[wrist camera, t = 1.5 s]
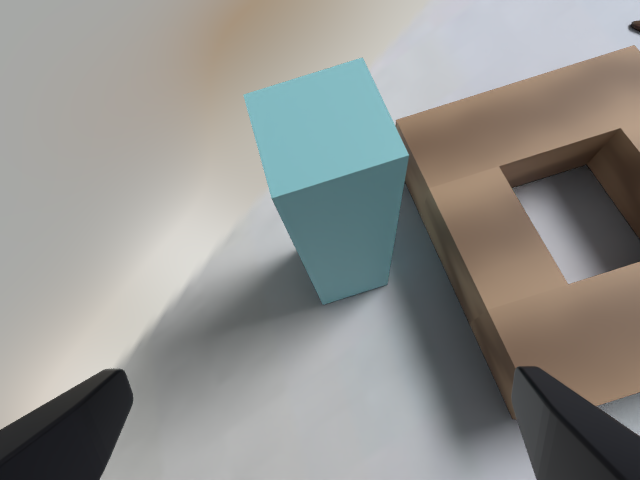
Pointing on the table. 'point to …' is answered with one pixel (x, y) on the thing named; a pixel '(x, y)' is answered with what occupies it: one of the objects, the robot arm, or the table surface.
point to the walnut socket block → (517, 229)
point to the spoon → (636, 25)
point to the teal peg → (333, 174)
